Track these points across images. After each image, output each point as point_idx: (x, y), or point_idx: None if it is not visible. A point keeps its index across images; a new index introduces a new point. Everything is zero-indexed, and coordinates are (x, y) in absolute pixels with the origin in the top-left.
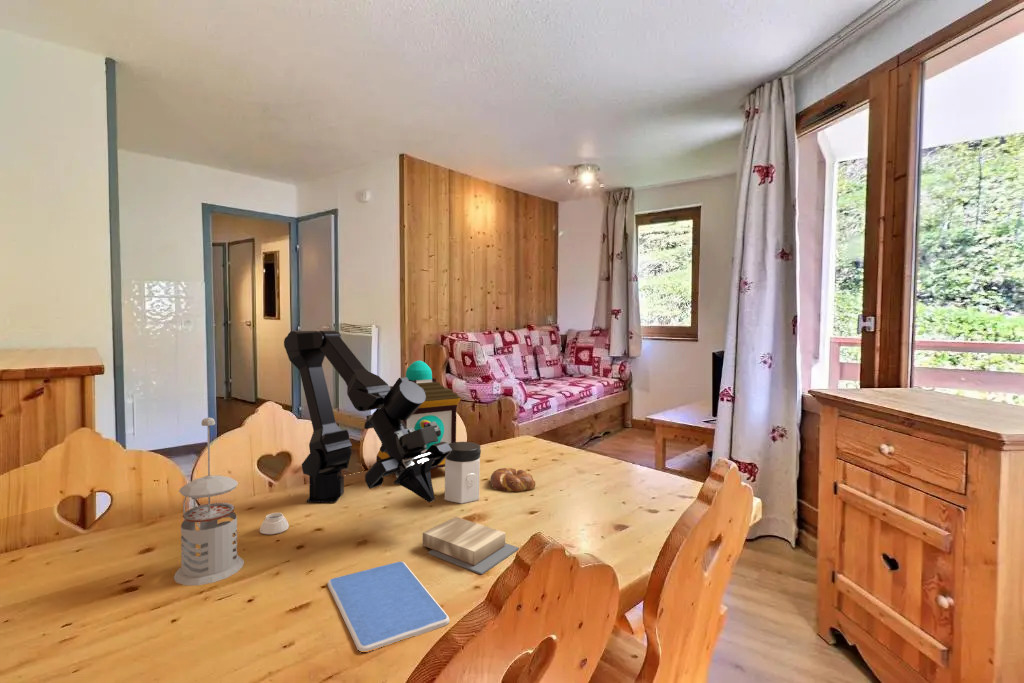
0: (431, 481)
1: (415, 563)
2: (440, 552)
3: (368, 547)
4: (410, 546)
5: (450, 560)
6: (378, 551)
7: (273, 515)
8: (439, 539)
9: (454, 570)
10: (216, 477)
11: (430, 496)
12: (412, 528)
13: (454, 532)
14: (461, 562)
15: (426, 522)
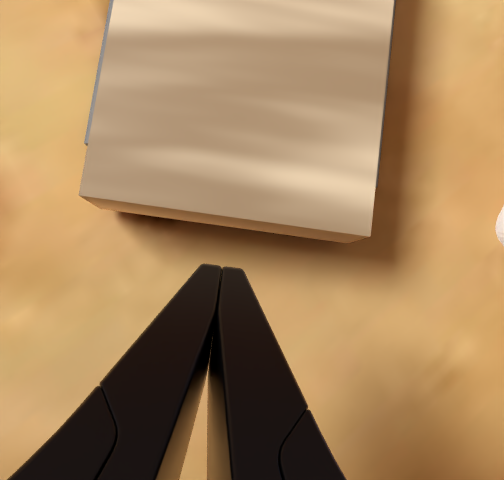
0: (103, 384)
1: (466, 186)
2: None
3: (469, 476)
4: (359, 304)
5: (388, 58)
6: (472, 404)
7: None
8: (380, 114)
9: (427, 17)
10: None
11: (244, 286)
12: (192, 432)
13: (278, 81)
14: None
15: None
